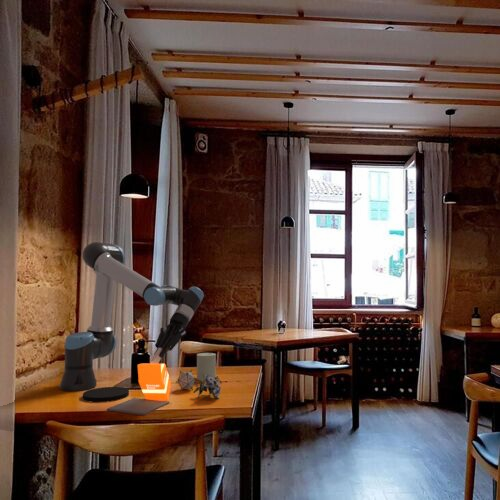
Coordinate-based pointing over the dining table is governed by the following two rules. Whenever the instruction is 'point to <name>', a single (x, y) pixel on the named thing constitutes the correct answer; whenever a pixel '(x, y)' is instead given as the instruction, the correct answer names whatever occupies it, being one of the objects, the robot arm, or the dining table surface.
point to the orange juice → (154, 381)
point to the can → (206, 365)
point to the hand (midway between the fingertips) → (153, 363)
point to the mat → (138, 406)
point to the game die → (186, 380)
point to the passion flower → (209, 386)
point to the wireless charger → (105, 394)
